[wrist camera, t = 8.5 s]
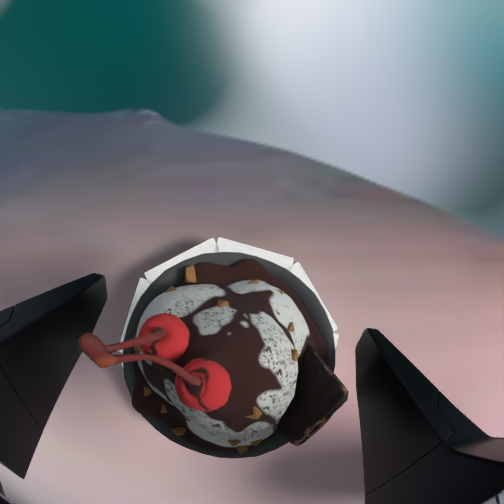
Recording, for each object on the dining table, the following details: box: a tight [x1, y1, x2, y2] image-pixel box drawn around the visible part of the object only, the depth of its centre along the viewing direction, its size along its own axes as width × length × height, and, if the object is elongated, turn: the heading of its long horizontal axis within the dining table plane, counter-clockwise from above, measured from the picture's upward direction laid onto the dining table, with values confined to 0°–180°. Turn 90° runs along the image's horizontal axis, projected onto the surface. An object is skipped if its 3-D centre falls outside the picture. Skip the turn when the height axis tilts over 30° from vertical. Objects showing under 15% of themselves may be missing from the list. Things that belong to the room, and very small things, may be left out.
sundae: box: [78, 252, 348, 458], centre depth 11 cm, size 7×7×15 cm
